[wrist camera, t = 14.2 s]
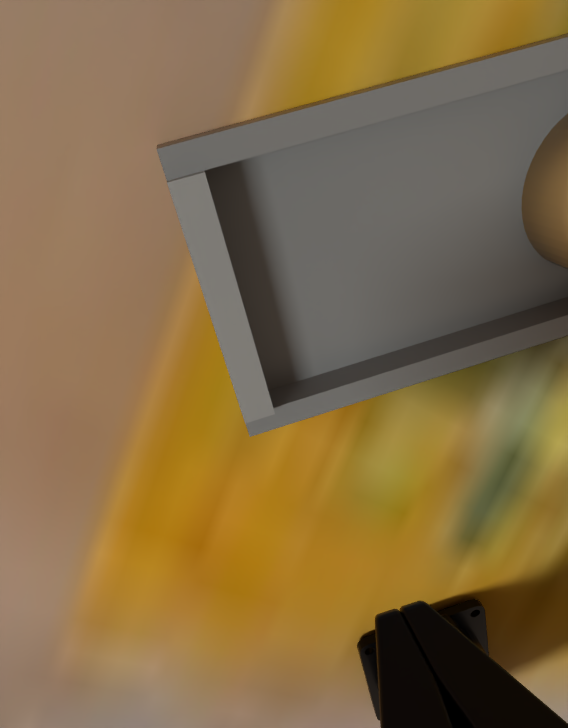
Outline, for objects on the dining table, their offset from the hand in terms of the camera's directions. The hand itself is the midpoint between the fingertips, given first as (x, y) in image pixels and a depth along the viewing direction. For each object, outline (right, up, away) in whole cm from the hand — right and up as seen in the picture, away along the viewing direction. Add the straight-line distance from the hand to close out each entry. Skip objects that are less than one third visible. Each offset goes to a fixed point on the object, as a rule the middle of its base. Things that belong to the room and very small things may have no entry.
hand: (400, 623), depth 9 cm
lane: (+11, +11, +10) cm, 18 cm away
